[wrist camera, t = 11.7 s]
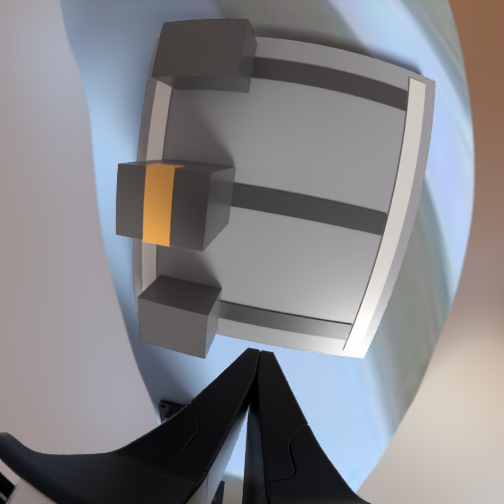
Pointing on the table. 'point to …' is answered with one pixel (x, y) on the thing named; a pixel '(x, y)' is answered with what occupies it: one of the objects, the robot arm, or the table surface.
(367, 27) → the table surface
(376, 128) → the panel
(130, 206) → the block
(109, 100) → the table surface
